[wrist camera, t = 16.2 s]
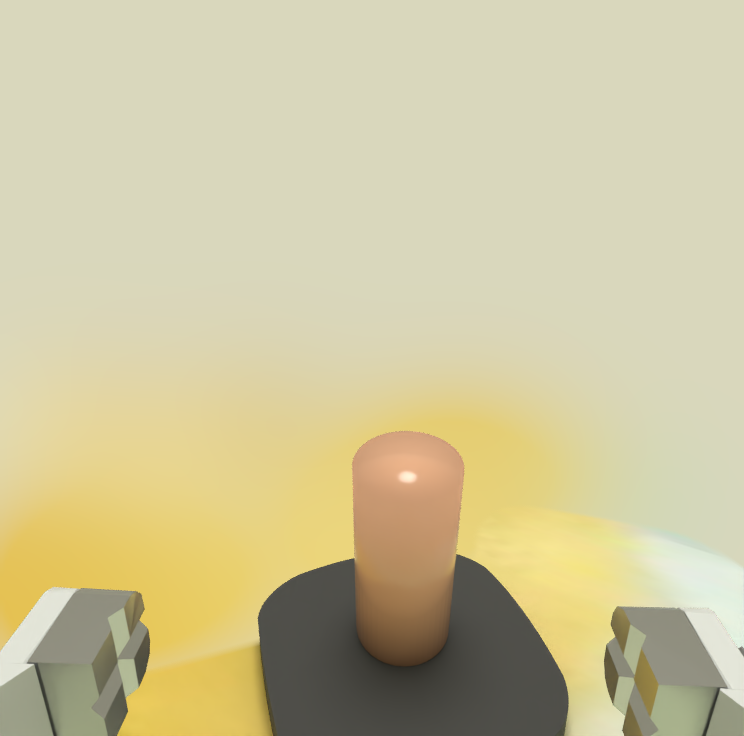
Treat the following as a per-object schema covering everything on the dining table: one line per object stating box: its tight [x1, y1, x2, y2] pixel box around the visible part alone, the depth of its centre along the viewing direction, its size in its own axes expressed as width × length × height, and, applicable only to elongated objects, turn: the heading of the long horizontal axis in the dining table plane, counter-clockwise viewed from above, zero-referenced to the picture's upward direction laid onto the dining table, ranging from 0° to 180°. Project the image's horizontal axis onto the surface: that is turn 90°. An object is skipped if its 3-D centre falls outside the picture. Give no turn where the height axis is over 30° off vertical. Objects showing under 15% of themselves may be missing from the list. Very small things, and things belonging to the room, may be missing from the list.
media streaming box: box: [258, 554, 568, 736], centre depth 33 cm, size 15×15×3 cm
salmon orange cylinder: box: [352, 431, 464, 666], centre depth 30 cm, size 5×5×11 cm
